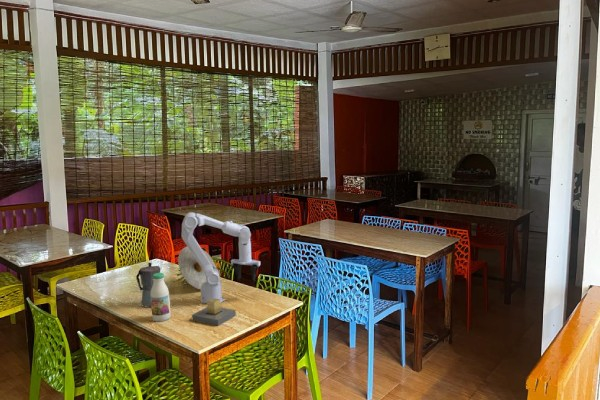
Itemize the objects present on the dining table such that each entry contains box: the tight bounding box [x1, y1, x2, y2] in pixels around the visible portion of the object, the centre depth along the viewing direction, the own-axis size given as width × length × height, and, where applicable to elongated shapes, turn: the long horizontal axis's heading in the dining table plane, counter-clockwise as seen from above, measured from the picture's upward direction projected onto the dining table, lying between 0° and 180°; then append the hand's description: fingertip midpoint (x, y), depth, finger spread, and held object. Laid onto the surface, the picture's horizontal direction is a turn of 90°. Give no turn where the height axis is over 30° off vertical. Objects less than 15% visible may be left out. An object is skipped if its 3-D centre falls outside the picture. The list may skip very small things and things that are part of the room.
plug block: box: [206, 298, 222, 316], centre depth 202 cm, size 4×4×8 cm
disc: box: [172, 245, 217, 290], centre depth 246 cm, size 25×18×25 cm
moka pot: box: [135, 262, 161, 308], centre depth 219 cm, size 10×15×20 cm, turn 161°
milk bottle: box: [150, 272, 172, 322], centre depth 202 cm, size 8×8×20 cm
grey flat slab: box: [191, 306, 237, 327], centre depth 202 cm, size 14×12×2 cm
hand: (246, 279), depth 224 cm, fingers open, 7 cm apart
